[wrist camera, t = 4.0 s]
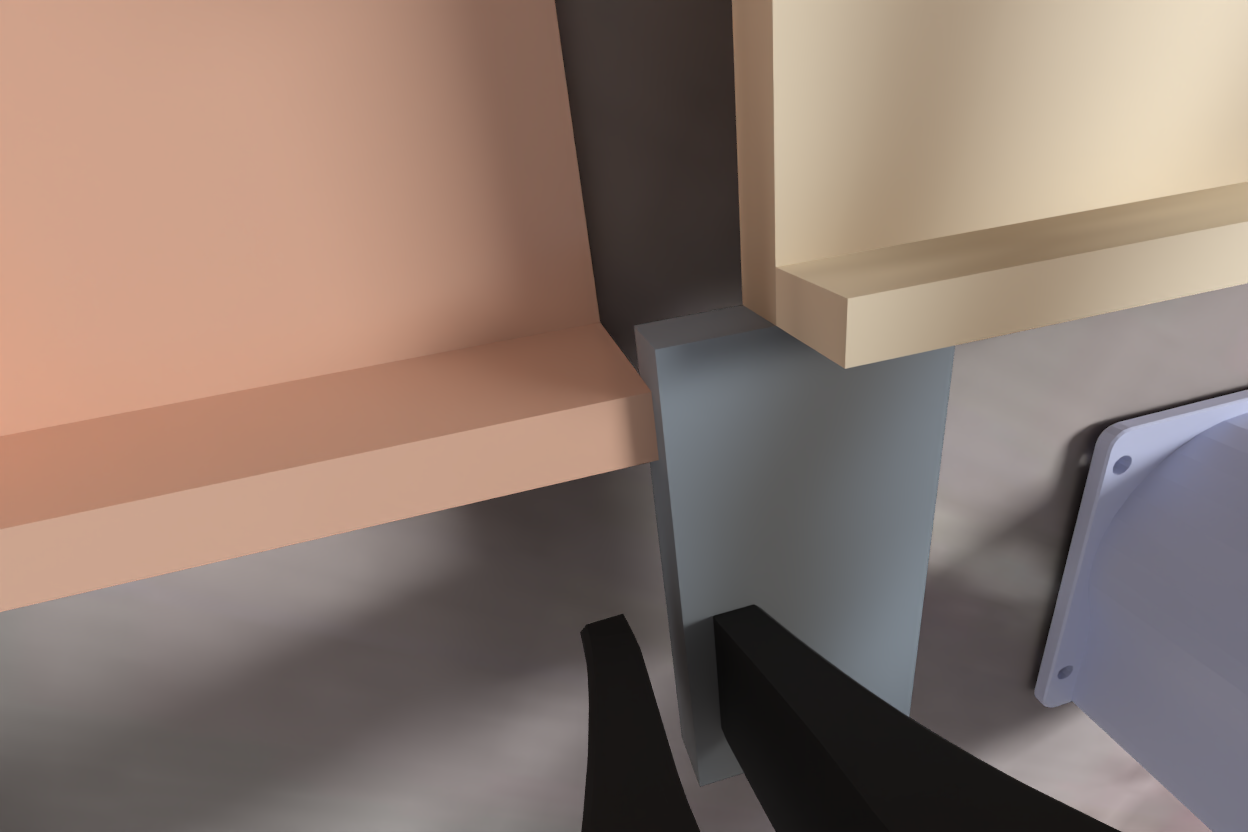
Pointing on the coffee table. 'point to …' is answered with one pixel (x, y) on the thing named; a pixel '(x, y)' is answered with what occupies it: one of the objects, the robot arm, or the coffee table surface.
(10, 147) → the tray
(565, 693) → the coffee table surface
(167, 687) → the coffee table surface
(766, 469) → the lever
